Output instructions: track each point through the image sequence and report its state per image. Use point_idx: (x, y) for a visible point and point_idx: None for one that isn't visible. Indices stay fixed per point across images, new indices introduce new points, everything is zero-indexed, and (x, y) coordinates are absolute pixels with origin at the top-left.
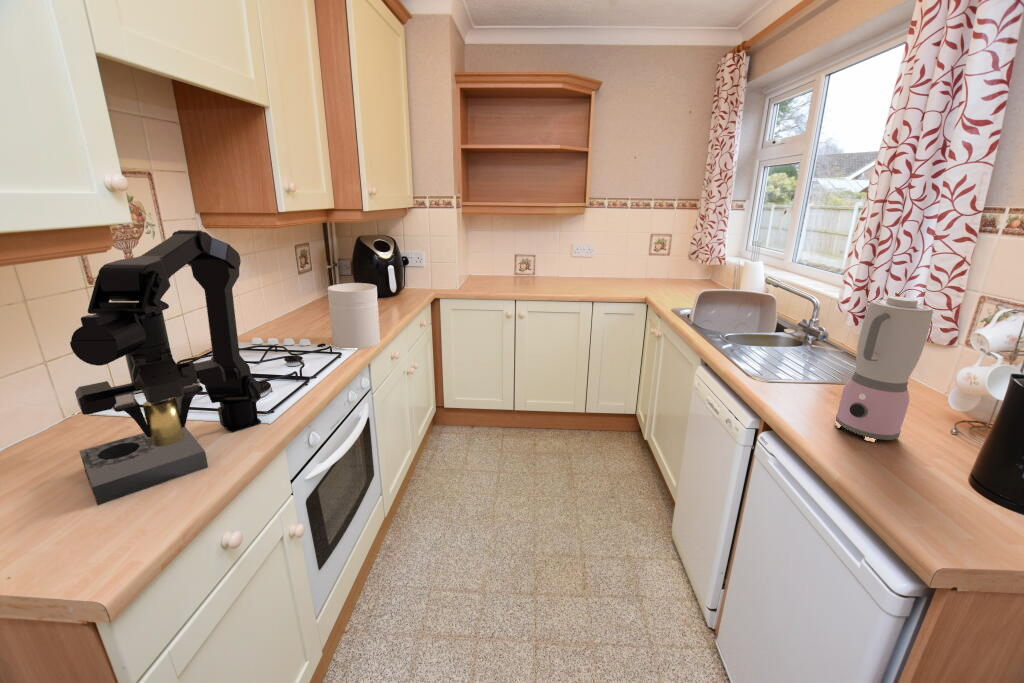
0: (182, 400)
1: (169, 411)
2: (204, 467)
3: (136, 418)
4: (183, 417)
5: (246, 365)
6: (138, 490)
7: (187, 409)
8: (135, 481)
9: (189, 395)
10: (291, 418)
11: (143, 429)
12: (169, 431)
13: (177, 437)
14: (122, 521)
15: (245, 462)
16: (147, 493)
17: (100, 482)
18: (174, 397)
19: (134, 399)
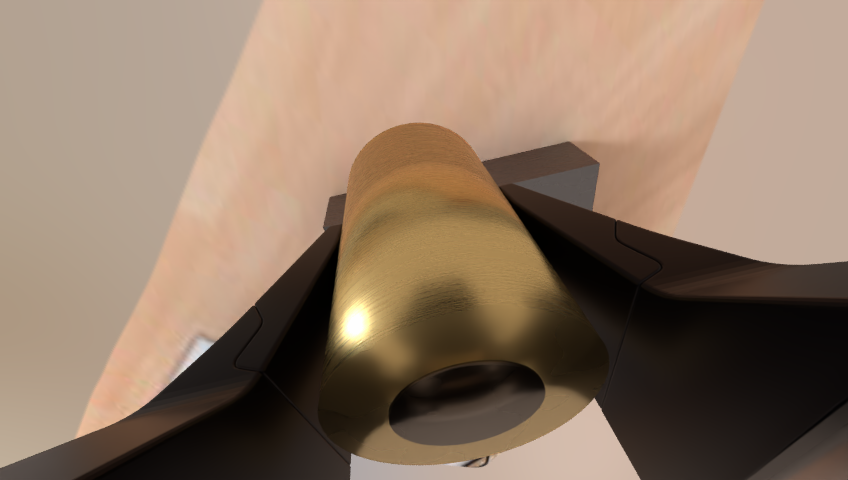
0: (238, 389)
1: (384, 265)
2: (338, 196)
3: (650, 241)
4: (314, 260)
5: None
6: (488, 162)
7: (259, 303)
8: (498, 172)
9: (63, 460)
10: (144, 343)
11: (550, 201)
12: (403, 156)
13: (368, 151)
14: (542, 4)
15: (222, 173)
16: (471, 137)
17: (578, 180)
18: (339, 446)
19: (766, 473)
